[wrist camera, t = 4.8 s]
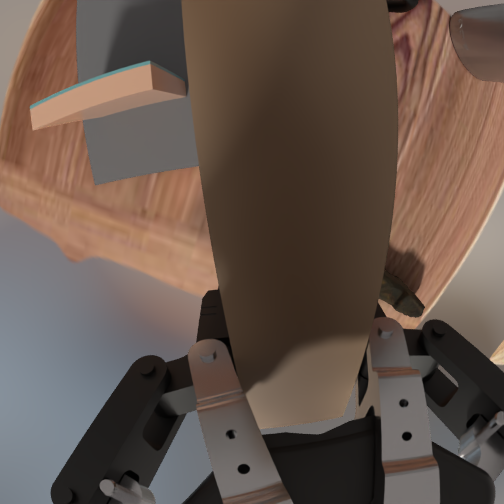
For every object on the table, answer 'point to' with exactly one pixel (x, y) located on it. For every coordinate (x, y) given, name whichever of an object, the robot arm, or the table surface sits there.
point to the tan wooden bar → (295, 188)
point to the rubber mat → (144, 117)
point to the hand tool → (400, 296)
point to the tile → (109, 95)
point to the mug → (401, 5)
